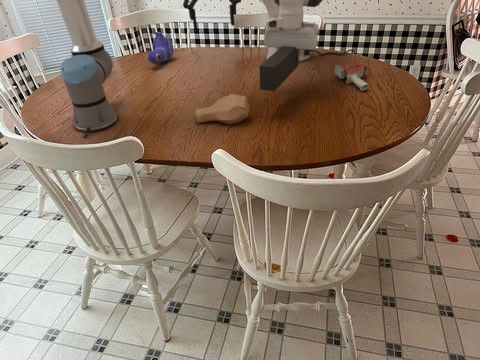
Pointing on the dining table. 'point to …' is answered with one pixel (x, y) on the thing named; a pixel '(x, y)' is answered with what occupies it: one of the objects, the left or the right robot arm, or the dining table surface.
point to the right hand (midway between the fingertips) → (289, 59)
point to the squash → (225, 110)
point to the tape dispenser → (353, 74)
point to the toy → (161, 49)
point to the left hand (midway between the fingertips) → (214, 26)
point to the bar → (278, 68)
